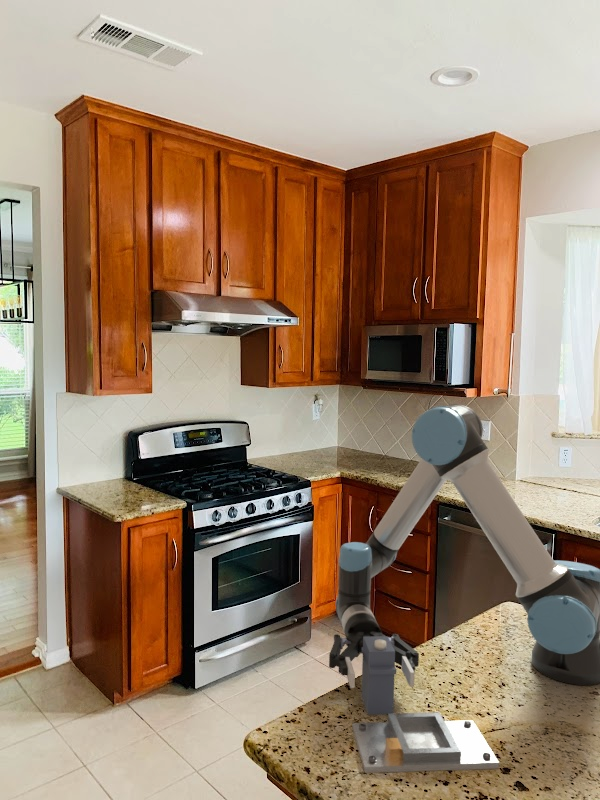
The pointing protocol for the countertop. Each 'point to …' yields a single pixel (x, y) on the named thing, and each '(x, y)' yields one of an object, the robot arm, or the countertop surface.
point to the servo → (378, 675)
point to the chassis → (422, 744)
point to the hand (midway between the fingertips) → (382, 680)
